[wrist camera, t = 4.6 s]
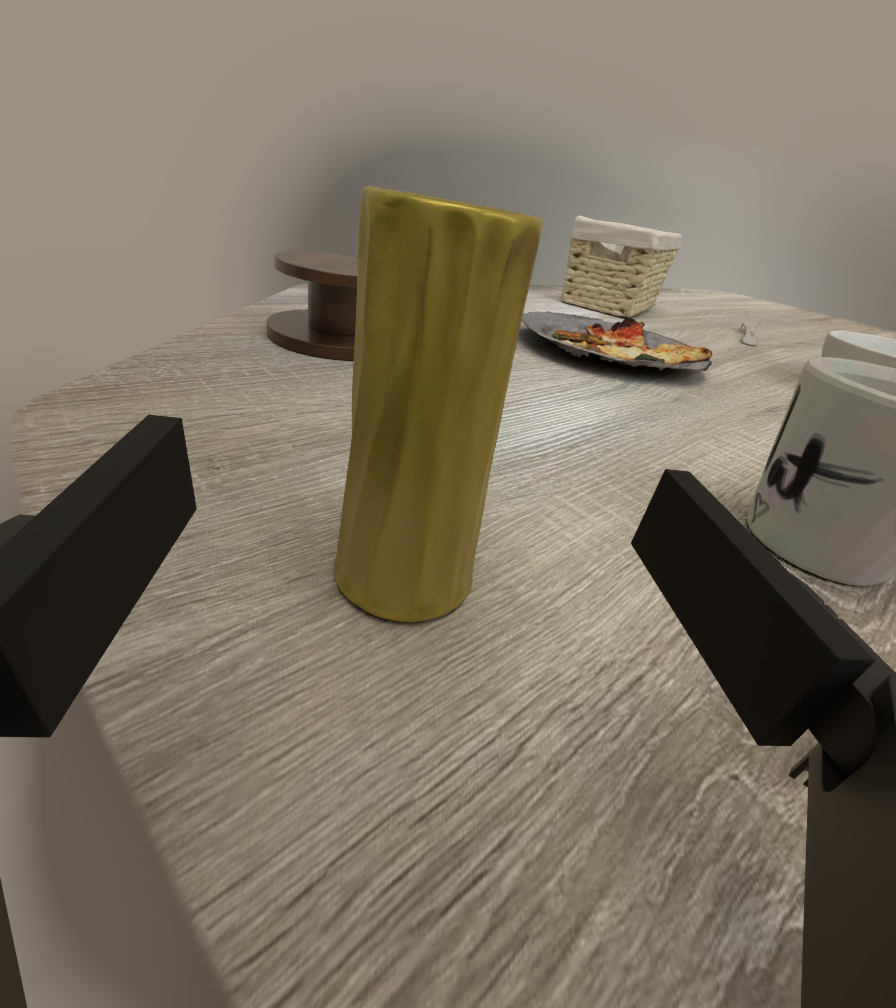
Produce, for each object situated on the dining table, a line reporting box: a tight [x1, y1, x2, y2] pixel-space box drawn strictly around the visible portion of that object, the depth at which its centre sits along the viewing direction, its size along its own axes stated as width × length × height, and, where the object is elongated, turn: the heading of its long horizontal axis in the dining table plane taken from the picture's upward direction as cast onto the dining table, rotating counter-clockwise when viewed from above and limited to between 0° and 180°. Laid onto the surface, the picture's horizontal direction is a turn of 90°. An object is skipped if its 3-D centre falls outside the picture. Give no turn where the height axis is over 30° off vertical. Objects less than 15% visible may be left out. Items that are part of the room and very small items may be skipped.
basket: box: [561, 216, 682, 317], centre depth 95 cm, size 24×16×15 cm
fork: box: [741, 321, 758, 346], centre depth 94 cm, size 3×21×3 cm, turn 152°
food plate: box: [521, 312, 712, 371], centre depth 62 cm, size 25×23×4 cm
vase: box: [335, 186, 543, 622], centre depth 17 cm, size 6×6×14 cm
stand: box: [266, 251, 358, 361], centre depth 48 cm, size 14×14×7 cm
